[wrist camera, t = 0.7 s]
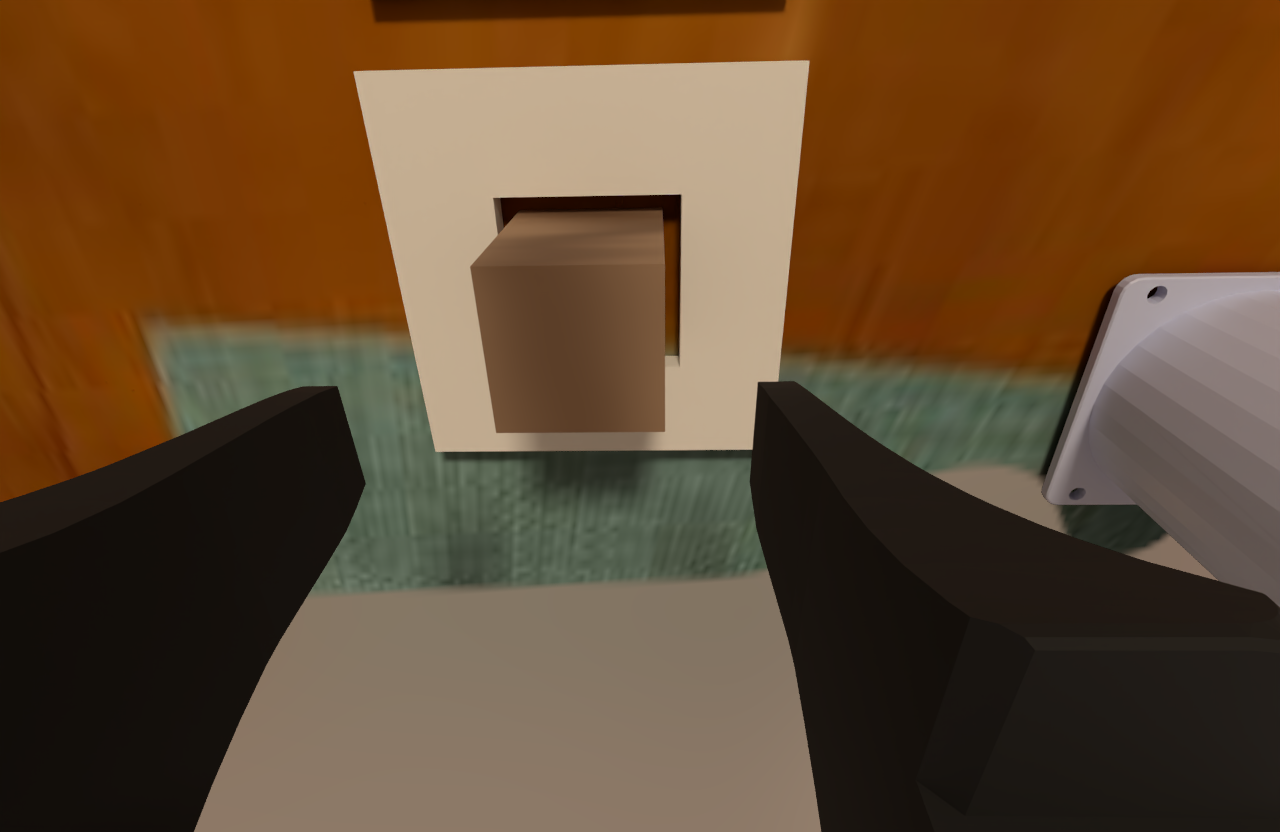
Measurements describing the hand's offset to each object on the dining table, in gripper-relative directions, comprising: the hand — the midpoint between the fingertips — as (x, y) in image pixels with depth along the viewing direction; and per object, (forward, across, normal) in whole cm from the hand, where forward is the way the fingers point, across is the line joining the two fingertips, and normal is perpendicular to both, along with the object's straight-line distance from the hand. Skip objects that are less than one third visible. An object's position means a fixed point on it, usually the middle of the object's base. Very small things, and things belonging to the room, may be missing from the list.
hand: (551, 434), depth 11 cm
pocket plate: (+9, 0, 0) cm, 9 cm away
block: (+9, 0, 0) cm, 9 cm away
